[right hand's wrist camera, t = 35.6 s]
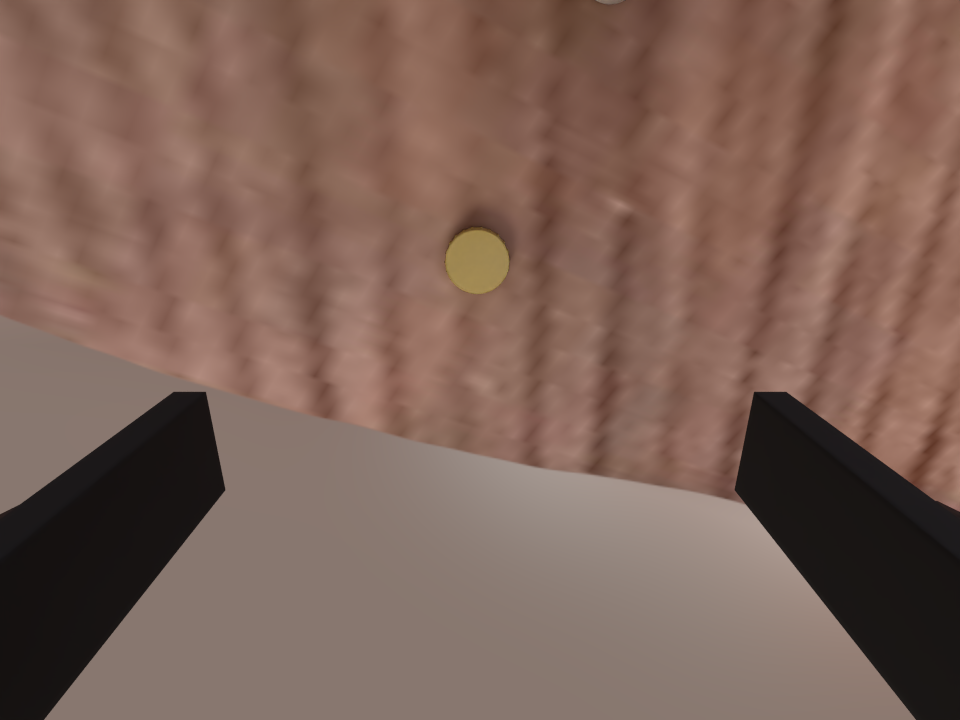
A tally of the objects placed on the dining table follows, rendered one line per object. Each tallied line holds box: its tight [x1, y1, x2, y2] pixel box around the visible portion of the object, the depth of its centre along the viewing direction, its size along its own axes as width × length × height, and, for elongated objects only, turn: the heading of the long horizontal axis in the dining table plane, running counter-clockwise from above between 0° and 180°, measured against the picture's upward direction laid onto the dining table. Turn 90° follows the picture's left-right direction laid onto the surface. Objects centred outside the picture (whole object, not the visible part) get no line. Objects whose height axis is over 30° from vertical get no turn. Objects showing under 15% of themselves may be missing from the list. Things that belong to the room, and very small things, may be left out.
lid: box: [445, 227, 510, 294], centre depth 38 cm, size 5×5×2 cm
